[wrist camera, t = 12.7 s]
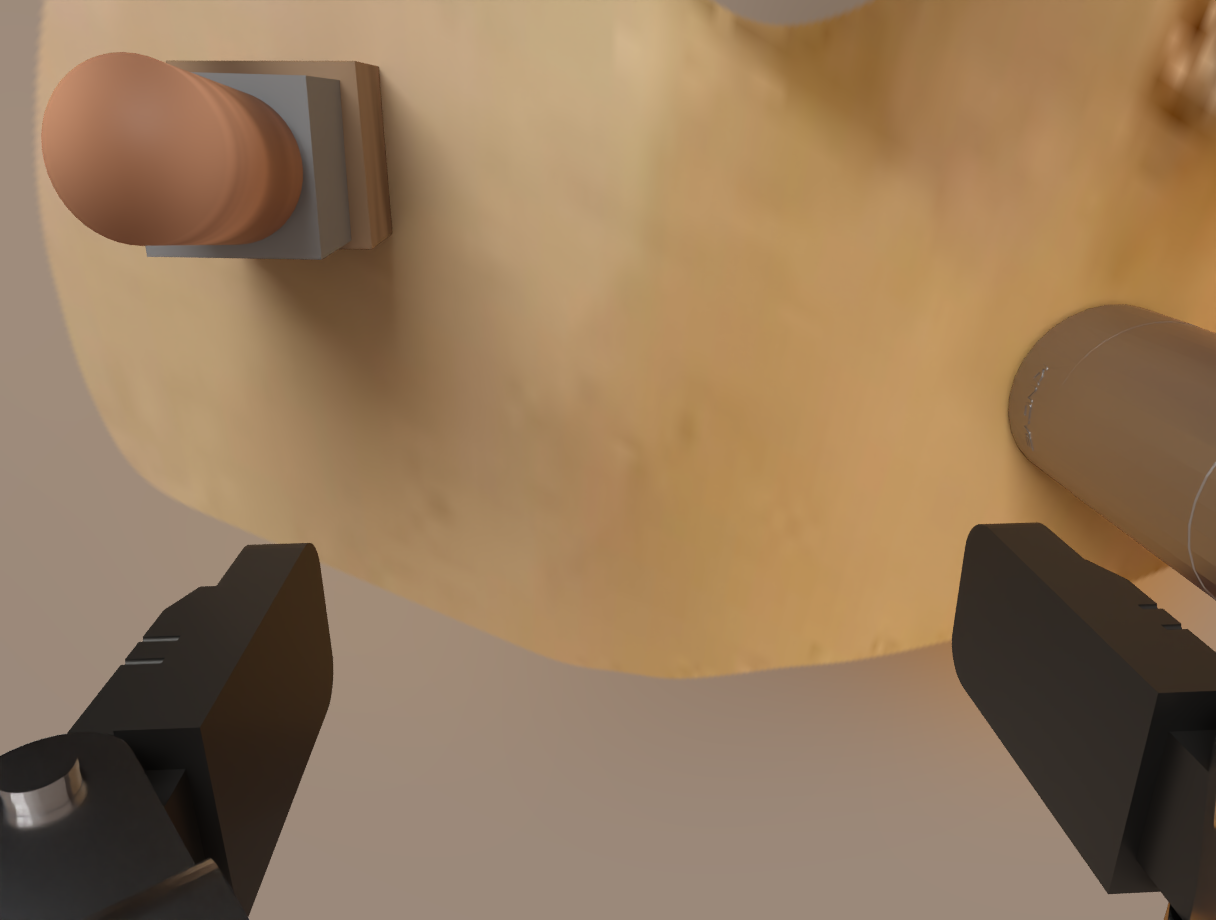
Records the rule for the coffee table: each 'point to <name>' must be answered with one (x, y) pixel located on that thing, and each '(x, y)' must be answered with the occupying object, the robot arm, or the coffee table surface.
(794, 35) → the coffee table surface
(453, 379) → the coffee table surface
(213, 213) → the brown rounded knob
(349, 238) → the tower top
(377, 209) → the tower base
